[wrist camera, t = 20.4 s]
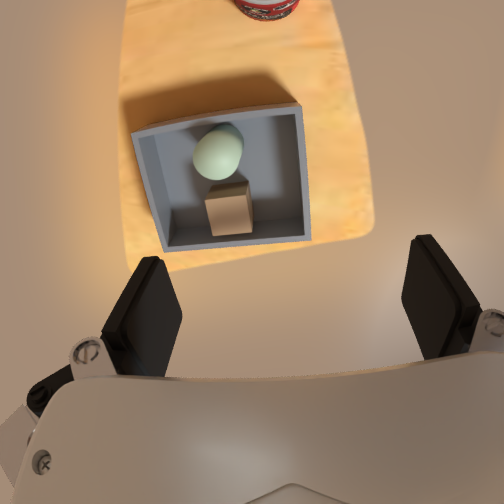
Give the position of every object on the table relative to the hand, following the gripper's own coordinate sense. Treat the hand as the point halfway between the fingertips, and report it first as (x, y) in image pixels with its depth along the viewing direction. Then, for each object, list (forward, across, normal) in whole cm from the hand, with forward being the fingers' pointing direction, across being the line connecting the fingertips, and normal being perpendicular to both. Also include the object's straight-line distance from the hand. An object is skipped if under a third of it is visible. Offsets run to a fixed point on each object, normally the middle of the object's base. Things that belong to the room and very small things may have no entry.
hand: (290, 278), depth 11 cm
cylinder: (+30, +7, +1) cm, 31 cm away
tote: (+30, +7, +5) cm, 31 cm away
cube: (+30, +7, +9) cm, 32 cm away
